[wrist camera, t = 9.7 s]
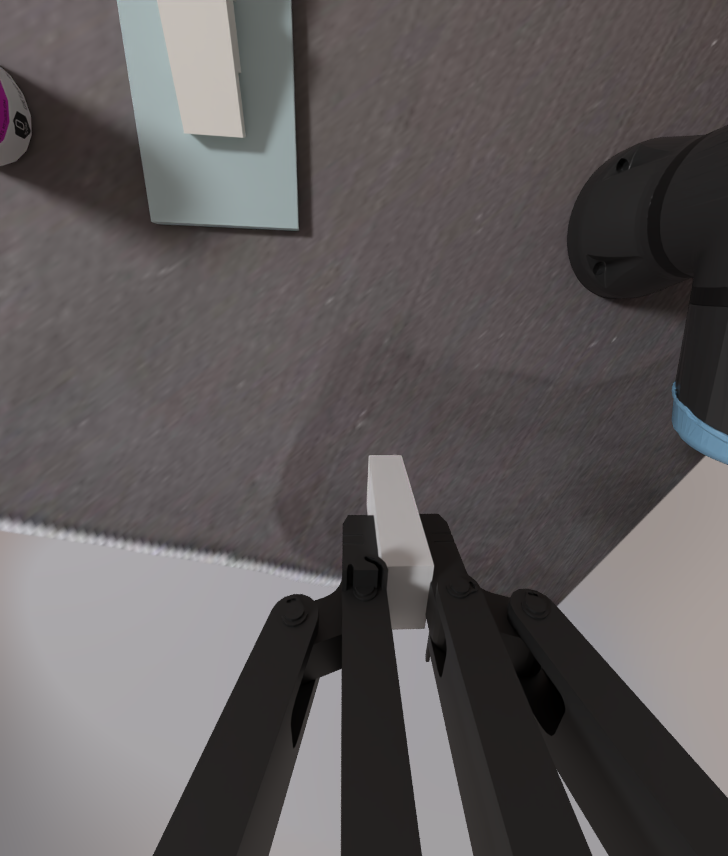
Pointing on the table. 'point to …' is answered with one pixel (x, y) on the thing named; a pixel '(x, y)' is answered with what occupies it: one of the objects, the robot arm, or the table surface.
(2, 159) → the supplement can
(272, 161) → the domino board
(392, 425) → the table surface
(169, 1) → the domino
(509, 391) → the table surface
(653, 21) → the table surface
